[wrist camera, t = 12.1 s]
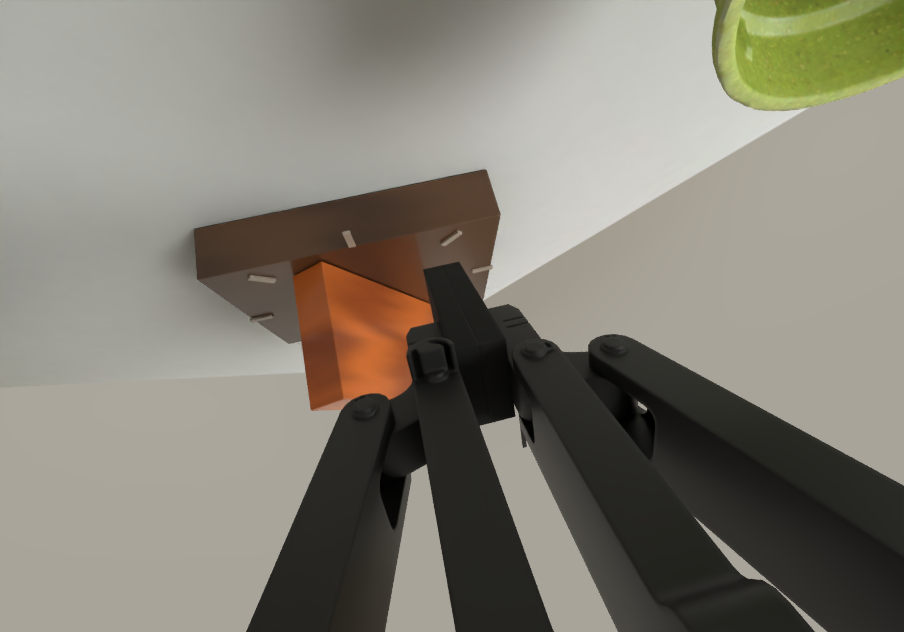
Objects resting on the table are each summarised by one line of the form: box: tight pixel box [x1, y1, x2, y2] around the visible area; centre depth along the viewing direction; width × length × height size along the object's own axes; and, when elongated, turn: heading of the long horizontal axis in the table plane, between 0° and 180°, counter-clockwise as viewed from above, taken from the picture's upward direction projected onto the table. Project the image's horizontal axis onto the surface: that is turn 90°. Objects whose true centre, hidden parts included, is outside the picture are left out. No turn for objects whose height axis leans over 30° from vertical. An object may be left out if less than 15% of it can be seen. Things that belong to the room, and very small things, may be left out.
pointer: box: [293, 262, 434, 411], centre depth 27 cm, size 12×2×8 cm, turn 30°
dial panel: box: [194, 170, 501, 344], centre depth 29 cm, size 16×16×3 cm
